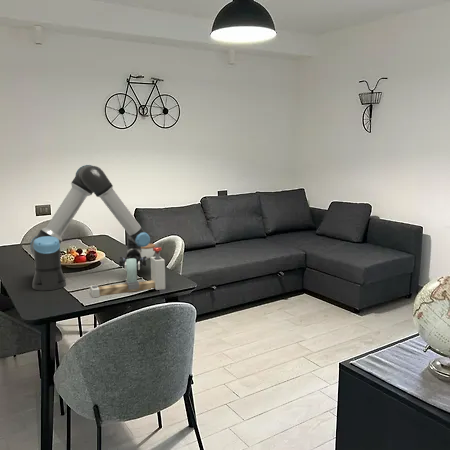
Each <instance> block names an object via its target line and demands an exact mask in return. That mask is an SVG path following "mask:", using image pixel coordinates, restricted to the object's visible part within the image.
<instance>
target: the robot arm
mask: <svg viewBox="0 0 450 450" xmlns="http://www.w3.org/2000/svg"><path fill="white" fill-rule="evenodd" d="M70 185H71V188H70V189H69V191H68V193H67V195H66V196H65V198H64V199H63V200H62V202H61V203H60V205H59V207H58V208H57V210H56V211H55V213H54V214H53V216H52V217H51V219H50V221H49V222H48V224H47V225H46V227H42V228H41V229H40V230H39V232H38V233H37V235H36V236H34V237H33V238H32V240H31V241H30V245H29V246H30V252H31V254H32V255H33V259H34V270H35V273H34V275H33V279H32V285H31V286H32V289H33V290H36V291H43V292H44V291H55V290H59V289H61V288H65V287H66V285H67V282H66V277H65V276H64V273H63V270H62V262H61V261H62V259H61V243H62V242H63V238H62V236H63V234H64V233H65V231H66V230H67V229H68V227H69V225H70V223H71V222H72V220H74V219H73V218H74V217H75V216H76V214H77V212H78V211H79V210H80V208H81V207H82V205H83V203H84V202H85V200H86V198H87V197H91V196H92V195H93V194H94V195H95V196H96V197H97V198H100V199H101V200H102V202H103V203H104V204H105V206H106V207H107V209H108V210H109V211H110V212H111V214H112V215H113V216H114V218H116V220H117V221H118V222H119V224H120V225H121V226H122V227H123V229H124V230H125V232H126V251H127V253H126V256H125V258H124V257H122V256H120V257H119V261H118V262H119V267H120V268H121V267H122V268H123V269H124V271H127V267H126V259H130V258H134V259H136V264H137V270H138V271H140V270H141V268H142V267H143V266H144V267H145V266H146V265H147V259H146V256H145V257H143V258H142V257H141V247H145V246H147V245H148V244H149V243H150V242H151V237H150V235H149V234H148V233H147V232H146V231H145V230H144V228H142V226H141V225H140V223H139V222H138V221H137V218H135V217H134V215H133V214H132V212H131V211H130V210H129V209H128V207H127V205H125V203H124V202H123V201H122V199H121V198H120V197H119V195H118V194H117V192H116V191H115V190H114V188H113V187H114V185H113V184H112V183H111V181H110V180H109V178H108V176H107V175H106V174H105V172H104V171H103V169H101V168H100V167H99V166H97V165H92V164H86V165H85V164H84V165H81V167H79V168H78V169H77V171H76V172H75V176H74V178H73V180H72V181H71V183H70ZM150 244H151V243H150Z"/></svg>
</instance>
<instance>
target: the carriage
mask: <svg viewBox="0 0 450 450" xmlns="http://www.w3.org/2000/svg"><path fill="white" fill-rule="evenodd" d="M126 267H127V269H126V280H125V282H124V284H127V285H128V290H131V289H139V282H140V281H138V271H137V270H138V264H136V259H134V258H130V259H126Z"/></svg>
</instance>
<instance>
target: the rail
mask: <svg viewBox="0 0 450 450" xmlns="http://www.w3.org/2000/svg"><path fill="white" fill-rule="evenodd" d="M138 282H139V289H131V290H128V285H127V284H125V283H120V284H112V285H101V286H98V288H99V292H100V296H107V295H117V294H125V293H133V292H140V291H139V290H141V291H145V289H148V290H152V289H151V288H155V282H154V281H153V280H151V279H150V280H146V281H145V280H143V281H138Z"/></svg>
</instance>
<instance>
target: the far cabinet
mask: <svg viewBox="0 0 450 450" xmlns="http://www.w3.org/2000/svg"><path fill="white" fill-rule="evenodd" d="M151 280H153V281H154V282H155V290H156V291H158V290H159V291H160V290H166V260H165V259H164V258H162V257H161V256H160V259H159V260H155V256H152V257H151V258H150V281H151Z"/></svg>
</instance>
